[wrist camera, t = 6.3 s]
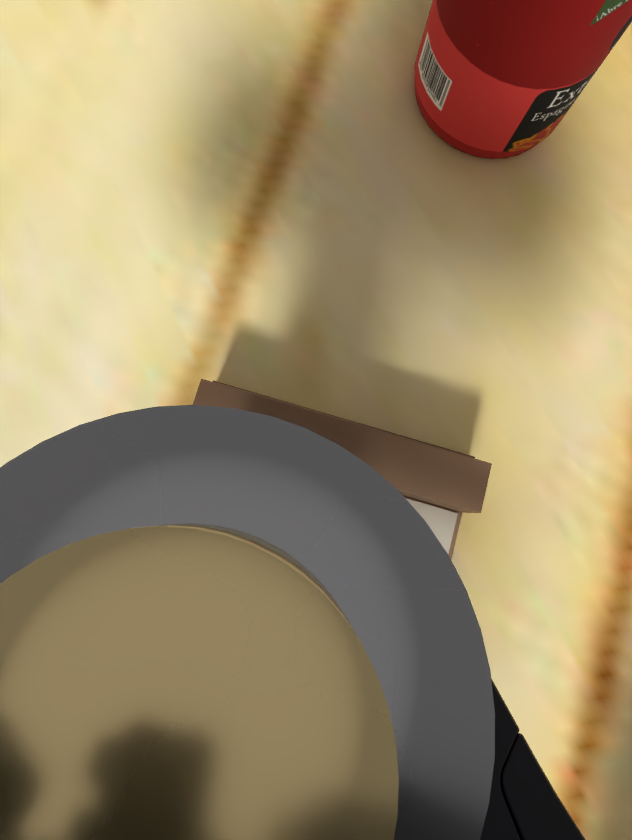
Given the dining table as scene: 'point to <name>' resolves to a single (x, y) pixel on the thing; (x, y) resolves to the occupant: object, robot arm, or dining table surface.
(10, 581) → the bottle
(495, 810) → the robot arm
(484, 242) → the dining table surface
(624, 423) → the dining table surface
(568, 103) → the canned food
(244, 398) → the cradle
